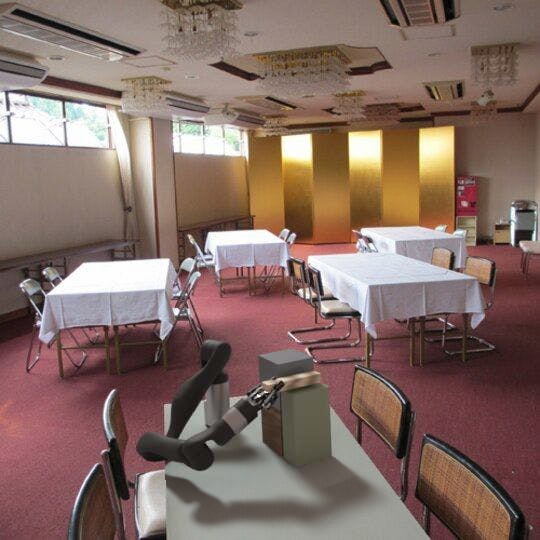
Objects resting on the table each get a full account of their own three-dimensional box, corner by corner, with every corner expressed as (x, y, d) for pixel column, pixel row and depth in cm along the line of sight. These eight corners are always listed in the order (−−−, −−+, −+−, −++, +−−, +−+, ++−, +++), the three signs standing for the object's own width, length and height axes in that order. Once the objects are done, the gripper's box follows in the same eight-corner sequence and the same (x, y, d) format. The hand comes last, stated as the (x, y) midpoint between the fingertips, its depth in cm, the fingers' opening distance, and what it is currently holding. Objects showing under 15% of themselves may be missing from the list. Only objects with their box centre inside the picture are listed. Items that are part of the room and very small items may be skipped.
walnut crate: (282, 456, 192) (280, 410, 190) (262, 441, 204) (260, 398, 202) (316, 445, 199) (315, 401, 197) (295, 432, 211) (294, 390, 209)
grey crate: (280, 410, 190) (278, 364, 188) (260, 398, 202) (258, 355, 200) (315, 401, 197) (313, 357, 195) (294, 390, 209) (292, 348, 207)
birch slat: (268, 394, 179) (267, 385, 179) (262, 391, 183) (261, 382, 182) (320, 382, 189) (320, 373, 188) (314, 378, 192) (313, 370, 192)
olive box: (296, 466, 184) (293, 395, 181) (283, 457, 191) (280, 388, 188) (331, 455, 191) (329, 386, 188) (318, 446, 198) (315, 380, 195)
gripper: (235, 417, 185) (274, 383, 191) (255, 432, 172) (296, 395, 178) (223, 401, 182) (263, 366, 188) (243, 414, 170) (285, 377, 176)
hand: (279, 380), depth 183 cm, fingers closed on birch slat, 3 cm apart
